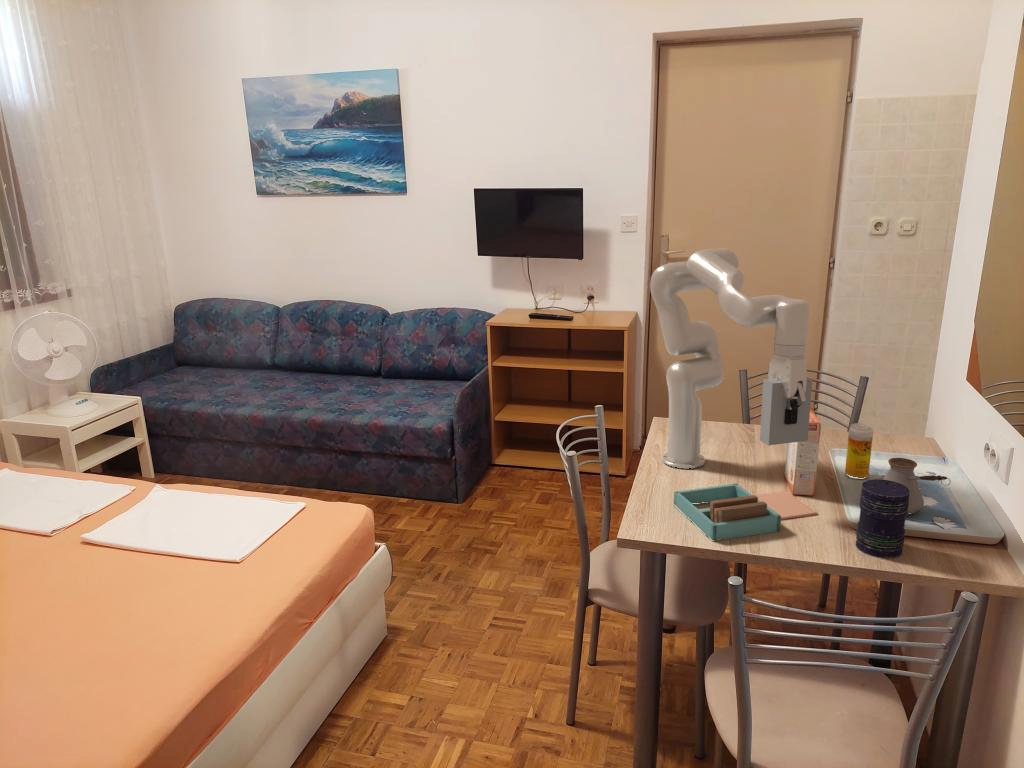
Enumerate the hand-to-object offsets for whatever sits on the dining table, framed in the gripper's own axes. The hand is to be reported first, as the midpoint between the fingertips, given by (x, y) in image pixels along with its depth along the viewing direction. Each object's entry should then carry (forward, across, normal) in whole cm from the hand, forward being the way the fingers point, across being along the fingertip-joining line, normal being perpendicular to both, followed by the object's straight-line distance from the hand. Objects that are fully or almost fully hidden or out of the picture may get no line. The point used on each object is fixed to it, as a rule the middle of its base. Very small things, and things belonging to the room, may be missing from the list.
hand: (785, 420), depth 184 cm
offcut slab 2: (+24, +8, -16) cm, 30 cm away
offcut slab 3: (+24, +10, -16) cm, 31 cm away
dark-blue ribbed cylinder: (+24, +26, +9) cm, 36 cm away
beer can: (+24, -11, +32) cm, 41 cm away
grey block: (+5, 0, 0) cm, 5 cm away
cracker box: (+24, -10, +13) cm, 29 cm away
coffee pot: (+24, +15, +27) cm, 39 cm away
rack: (+24, +2, -16) cm, 29 cm away
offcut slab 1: (+24, +6, -16) cm, 30 cm away
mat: (+24, 0, 0) cm, 24 cm away
